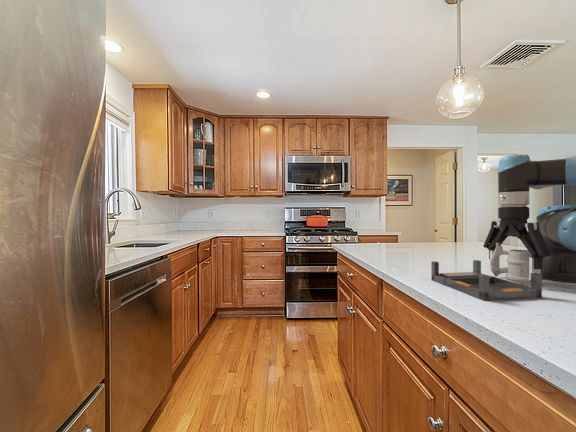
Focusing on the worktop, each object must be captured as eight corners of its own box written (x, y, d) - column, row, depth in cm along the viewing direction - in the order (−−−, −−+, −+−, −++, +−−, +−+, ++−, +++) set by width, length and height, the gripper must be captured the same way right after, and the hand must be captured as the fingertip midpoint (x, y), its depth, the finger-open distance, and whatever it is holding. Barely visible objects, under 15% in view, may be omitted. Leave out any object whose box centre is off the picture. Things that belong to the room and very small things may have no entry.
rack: (477, 278, 92) (477, 260, 92) (541, 297, 71) (542, 274, 71) (431, 280, 90) (431, 261, 90) (483, 300, 69) (483, 276, 69)
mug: (539, 287, 80) (540, 246, 80) (489, 281, 87) (489, 243, 87) (537, 282, 86) (537, 243, 86) (490, 277, 93) (490, 241, 93)
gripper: (471, 207, 98) (471, 267, 98) (543, 205, 73) (543, 285, 74) (491, 206, 99) (491, 266, 99) (568, 205, 74) (568, 284, 74)
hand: (513, 274), depth 86 cm, fingers open, 13 cm apart
